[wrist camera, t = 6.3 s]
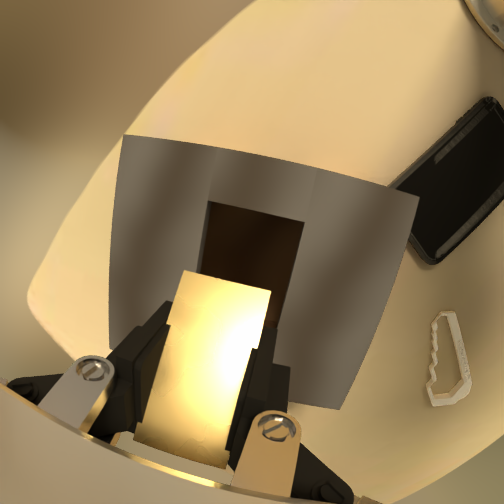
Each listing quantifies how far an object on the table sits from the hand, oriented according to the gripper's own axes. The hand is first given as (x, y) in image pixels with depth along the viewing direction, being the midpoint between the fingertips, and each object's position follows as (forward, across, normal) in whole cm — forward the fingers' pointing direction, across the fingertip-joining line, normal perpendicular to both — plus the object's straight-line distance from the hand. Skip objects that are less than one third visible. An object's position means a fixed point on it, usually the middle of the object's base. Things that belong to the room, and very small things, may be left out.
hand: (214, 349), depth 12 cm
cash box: (+15, 0, 0) cm, 15 cm away
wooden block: (0, 0, +2) cm, 2 cm away
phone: (+16, -15, -10) cm, 24 cm away
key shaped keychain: (+16, -21, +8) cm, 27 cm away
